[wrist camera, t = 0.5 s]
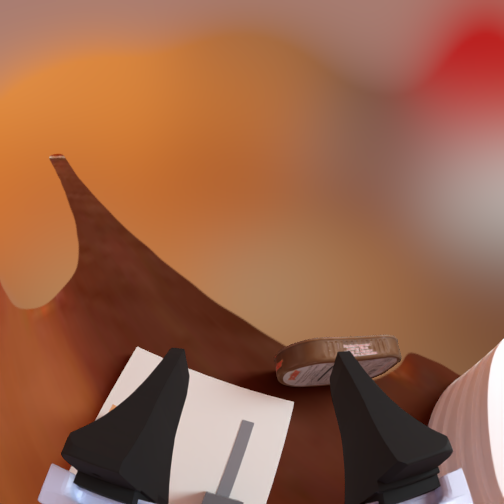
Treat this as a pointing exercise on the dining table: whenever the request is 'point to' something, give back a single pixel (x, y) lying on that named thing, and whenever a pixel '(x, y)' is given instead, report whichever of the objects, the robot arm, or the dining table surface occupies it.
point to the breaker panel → (216, 435)
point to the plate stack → (476, 427)
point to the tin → (324, 354)
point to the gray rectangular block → (218, 499)
